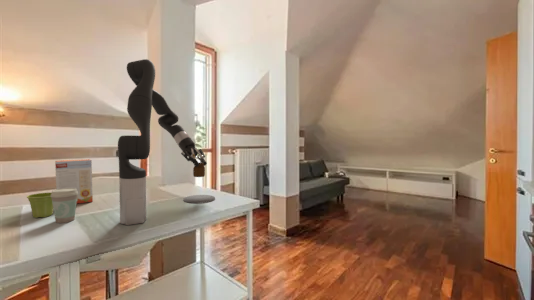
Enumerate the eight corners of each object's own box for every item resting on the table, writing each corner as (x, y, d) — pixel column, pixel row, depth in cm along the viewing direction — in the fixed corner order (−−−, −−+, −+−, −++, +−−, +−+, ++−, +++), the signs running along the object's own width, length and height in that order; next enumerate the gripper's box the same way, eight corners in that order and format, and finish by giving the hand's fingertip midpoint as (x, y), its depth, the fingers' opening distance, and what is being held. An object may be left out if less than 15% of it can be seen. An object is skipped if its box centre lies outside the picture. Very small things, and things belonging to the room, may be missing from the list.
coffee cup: (45, 222, 100) (44, 191, 99) (68, 216, 108) (67, 187, 108) (61, 225, 98) (61, 193, 97) (84, 218, 106) (83, 188, 105)
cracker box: (91, 199, 136) (90, 158, 134) (92, 202, 131) (92, 159, 130) (56, 203, 127) (55, 160, 126) (56, 206, 122) (55, 161, 121)
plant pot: (22, 217, 106) (21, 195, 105) (49, 211, 115) (48, 191, 114) (35, 220, 102) (34, 198, 102) (62, 214, 111) (62, 193, 110)
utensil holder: (206, 176, 139) (207, 153, 138) (195, 177, 135) (195, 154, 134) (201, 175, 144) (202, 153, 143) (190, 176, 140) (190, 153, 139)
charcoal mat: (219, 200, 138) (219, 199, 138) (189, 204, 129) (189, 203, 129) (208, 194, 151) (208, 193, 151) (179, 198, 142) (179, 196, 142)
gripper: (178, 136, 135) (196, 161, 130) (197, 136, 148) (214, 159, 143) (170, 146, 138) (188, 171, 133) (189, 145, 150) (206, 168, 146)
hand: (201, 165), depth 138 cm, fingers closed on utensil holder, 5 cm apart
